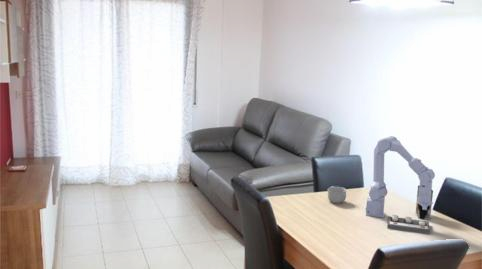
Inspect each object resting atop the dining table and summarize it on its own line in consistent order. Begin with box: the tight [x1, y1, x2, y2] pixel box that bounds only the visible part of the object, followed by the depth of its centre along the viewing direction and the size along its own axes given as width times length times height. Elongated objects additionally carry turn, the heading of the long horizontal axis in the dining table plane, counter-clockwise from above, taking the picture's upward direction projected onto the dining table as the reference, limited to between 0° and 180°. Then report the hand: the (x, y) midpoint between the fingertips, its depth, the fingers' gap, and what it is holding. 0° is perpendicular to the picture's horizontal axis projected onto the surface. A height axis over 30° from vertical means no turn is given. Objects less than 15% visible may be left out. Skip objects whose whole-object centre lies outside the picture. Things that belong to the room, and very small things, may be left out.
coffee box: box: [415, 184, 434, 220], centre depth 236 cm, size 9×6×16 cm
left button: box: [391, 214, 399, 222], centre depth 225 cm, size 3×3×2 cm
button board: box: [387, 216, 431, 235], centre depth 222 cm, size 20×12×2 cm, turn 70°
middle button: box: [405, 216, 413, 223], centre depth 222 cm, size 3×3×2 cm
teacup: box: [327, 185, 347, 205], centre depth 259 cm, size 14×11×8 cm
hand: (422, 218), depth 220 cm, fingers closed
